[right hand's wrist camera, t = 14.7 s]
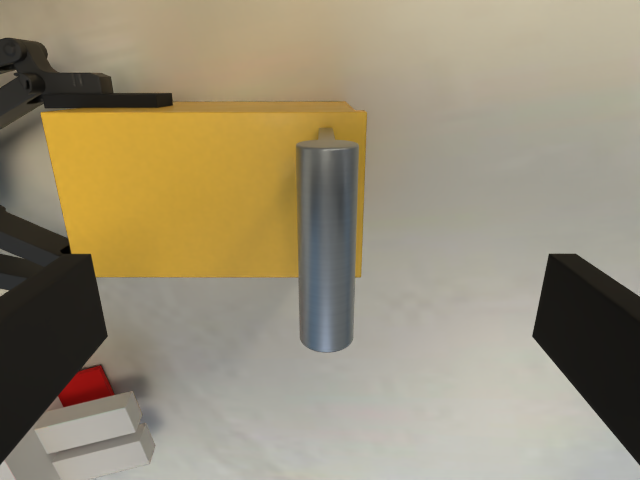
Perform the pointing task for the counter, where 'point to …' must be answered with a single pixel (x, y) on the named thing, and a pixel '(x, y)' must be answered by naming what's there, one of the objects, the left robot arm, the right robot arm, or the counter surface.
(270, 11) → the counter surface
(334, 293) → the yellow block with rod
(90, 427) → the toy
